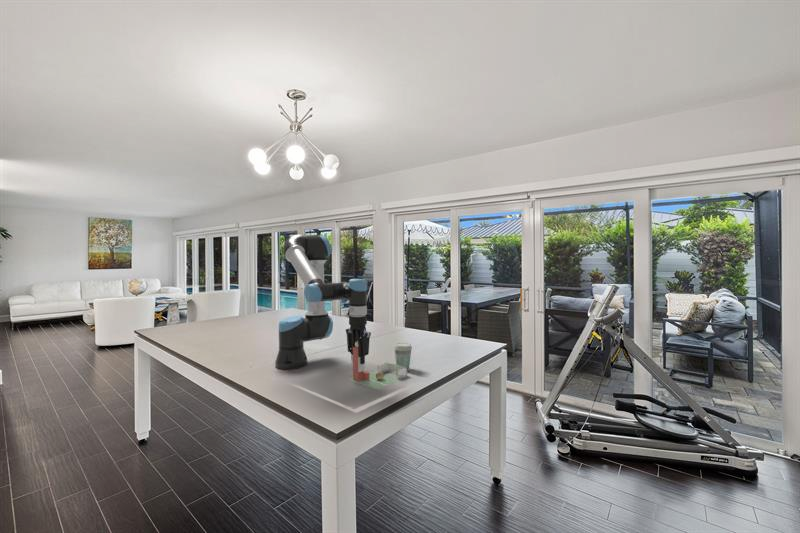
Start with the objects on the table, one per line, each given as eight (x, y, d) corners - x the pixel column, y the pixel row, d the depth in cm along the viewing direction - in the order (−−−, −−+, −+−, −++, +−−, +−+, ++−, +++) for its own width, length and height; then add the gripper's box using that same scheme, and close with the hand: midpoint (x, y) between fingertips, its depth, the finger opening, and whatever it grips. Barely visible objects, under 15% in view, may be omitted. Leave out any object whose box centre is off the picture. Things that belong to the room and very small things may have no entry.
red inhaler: (349, 378, 150) (349, 340, 149) (358, 375, 153) (357, 338, 153) (361, 382, 145) (360, 343, 144) (369, 379, 149) (369, 340, 148)
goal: (377, 376, 156) (377, 365, 156) (386, 372, 161) (386, 361, 161) (398, 382, 148) (398, 370, 148) (406, 378, 153) (406, 367, 153)
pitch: (346, 381, 149) (346, 379, 149) (369, 373, 159) (369, 370, 159) (376, 392, 137) (376, 389, 137) (399, 382, 148) (399, 380, 148)
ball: (373, 379, 148) (373, 371, 148) (379, 377, 151) (379, 369, 151) (379, 381, 146) (379, 373, 146) (385, 379, 149) (385, 371, 149)
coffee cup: (390, 369, 165) (390, 344, 164) (402, 365, 171) (402, 341, 171) (403, 374, 159) (403, 348, 159) (415, 369, 165) (415, 344, 165)
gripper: (338, 314, 150) (339, 368, 151) (364, 318, 140) (364, 376, 140) (351, 312, 156) (352, 364, 156) (377, 316, 145) (377, 372, 146)
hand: (358, 370), depth 148 cm, fingers closed on red inhaler, 3 cm apart
